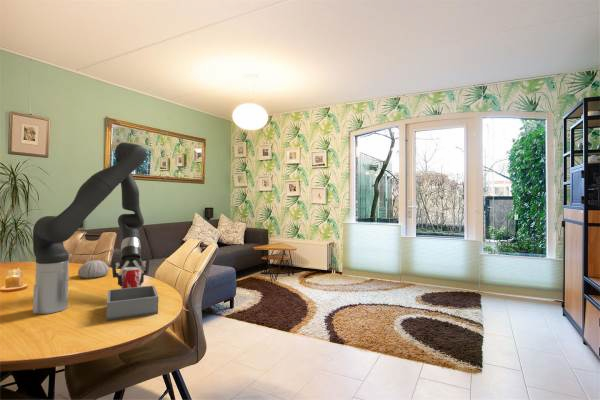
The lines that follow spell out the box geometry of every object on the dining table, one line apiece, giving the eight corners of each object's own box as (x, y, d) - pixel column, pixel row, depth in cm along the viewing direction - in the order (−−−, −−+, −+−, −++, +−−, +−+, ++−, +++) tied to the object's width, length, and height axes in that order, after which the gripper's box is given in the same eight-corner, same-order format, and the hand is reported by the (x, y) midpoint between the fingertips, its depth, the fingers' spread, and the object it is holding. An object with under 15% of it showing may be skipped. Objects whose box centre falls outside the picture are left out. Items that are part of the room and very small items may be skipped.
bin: (106, 321, 103) (106, 302, 103) (107, 306, 117) (108, 290, 116) (157, 313, 111) (158, 296, 111) (153, 300, 124) (154, 285, 124)
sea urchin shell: (71, 277, 154) (71, 261, 154) (96, 271, 167) (97, 256, 167) (91, 280, 150) (92, 264, 150) (116, 274, 163) (116, 259, 163)
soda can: (132, 301, 123) (133, 270, 122) (116, 299, 124) (117, 269, 124) (144, 295, 129) (145, 267, 129) (129, 294, 131) (130, 265, 131)
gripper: (111, 245, 129) (109, 281, 119) (150, 244, 137) (151, 277, 126) (111, 256, 134) (109, 291, 124) (148, 254, 141) (150, 287, 131)
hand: (131, 284), depth 125 cm, fingers closed on soda can, 6 cm apart
